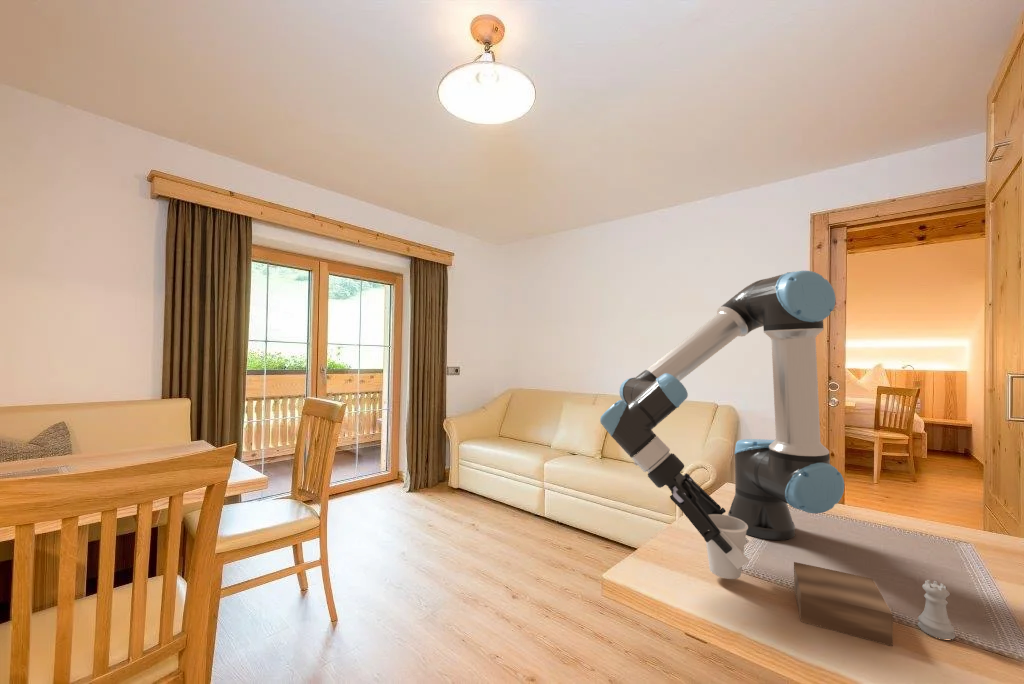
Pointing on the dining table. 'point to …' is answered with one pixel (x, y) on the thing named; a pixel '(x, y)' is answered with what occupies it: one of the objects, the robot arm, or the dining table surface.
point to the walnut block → (842, 603)
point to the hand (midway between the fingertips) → (743, 554)
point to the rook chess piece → (936, 612)
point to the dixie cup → (736, 534)
